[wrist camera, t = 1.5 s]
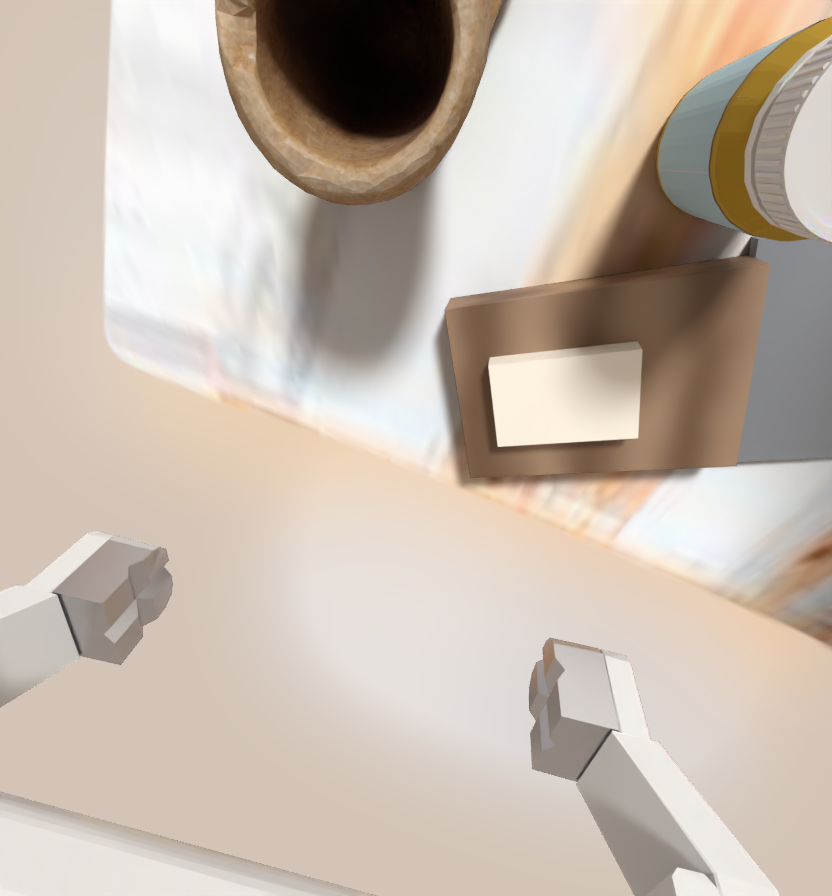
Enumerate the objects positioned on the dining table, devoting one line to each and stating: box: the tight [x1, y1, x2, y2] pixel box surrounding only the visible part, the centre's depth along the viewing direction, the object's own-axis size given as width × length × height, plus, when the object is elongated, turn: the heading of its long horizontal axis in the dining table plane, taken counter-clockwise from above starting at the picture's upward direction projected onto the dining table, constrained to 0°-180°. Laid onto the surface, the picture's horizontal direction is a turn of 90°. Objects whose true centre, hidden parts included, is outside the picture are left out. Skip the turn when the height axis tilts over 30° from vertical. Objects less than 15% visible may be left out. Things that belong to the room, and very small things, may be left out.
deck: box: [445, 255, 771, 478], centre depth 32 cm, size 18×13×3 cm
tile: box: [488, 341, 642, 447], centre depth 31 cm, size 9×6×2 cm, turn 100°
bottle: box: [656, 17, 832, 245], centre depth 19 cm, size 7×7×15 cm
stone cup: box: [215, 0, 503, 205], centre depth 20 cm, size 15×12×15 cm
